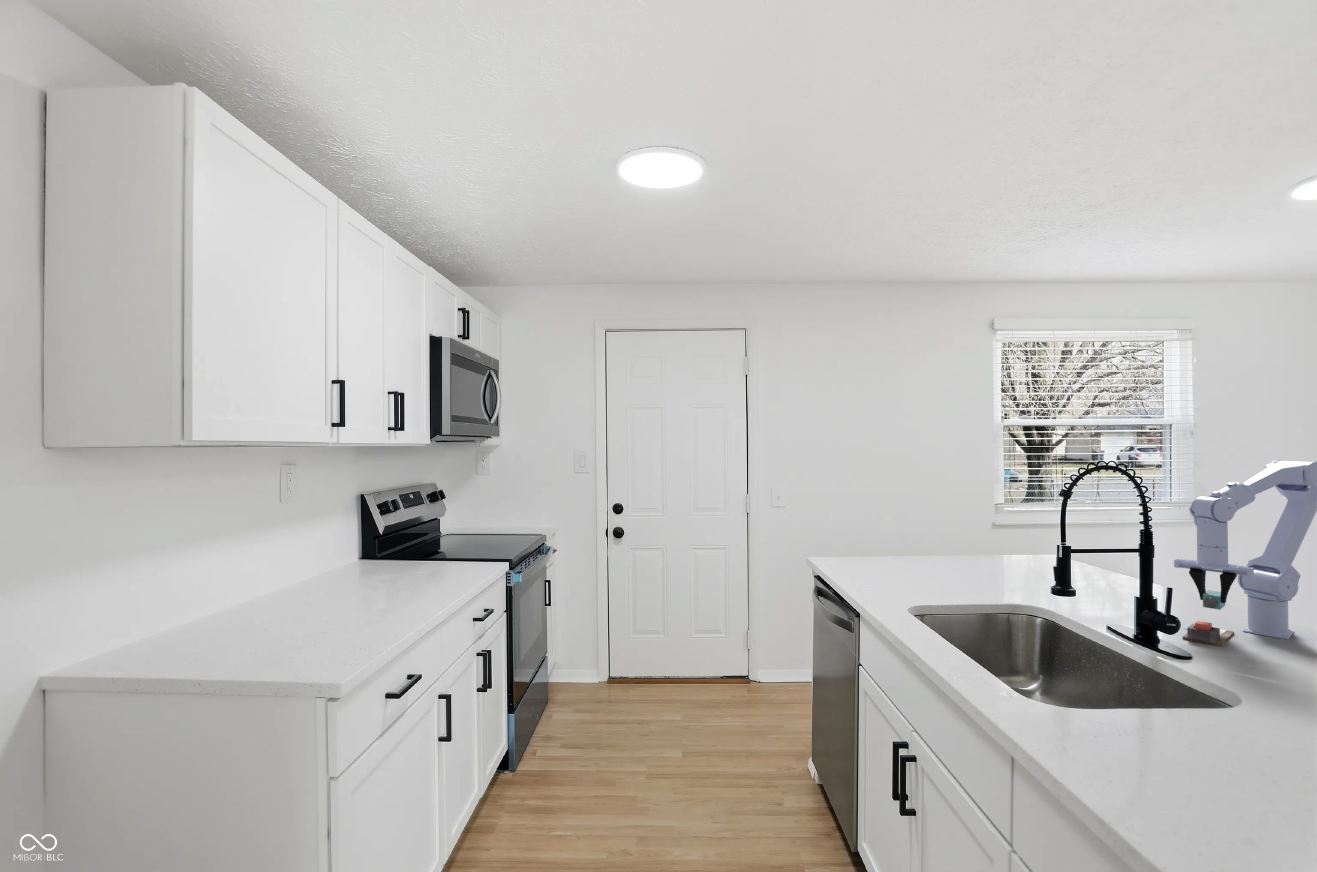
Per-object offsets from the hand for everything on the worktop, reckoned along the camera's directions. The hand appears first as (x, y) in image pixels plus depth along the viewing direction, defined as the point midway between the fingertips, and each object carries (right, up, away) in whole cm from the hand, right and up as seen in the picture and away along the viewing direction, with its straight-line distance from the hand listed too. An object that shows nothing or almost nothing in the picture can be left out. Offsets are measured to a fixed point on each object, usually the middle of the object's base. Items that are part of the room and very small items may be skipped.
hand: (1213, 600), depth 152 cm
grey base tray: (-2, -8, -1) cm, 9 cm away
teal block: (+1, -1, +1) cm, 2 cm away
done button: (-6, -7, -4) cm, 10 cm away
